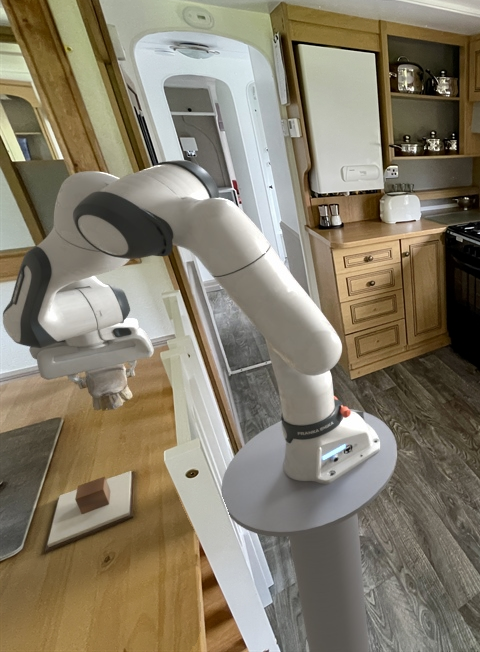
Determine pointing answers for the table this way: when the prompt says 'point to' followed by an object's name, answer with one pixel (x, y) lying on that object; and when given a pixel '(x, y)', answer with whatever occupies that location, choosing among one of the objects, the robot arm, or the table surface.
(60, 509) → the tile
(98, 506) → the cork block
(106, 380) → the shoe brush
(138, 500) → the table surface
